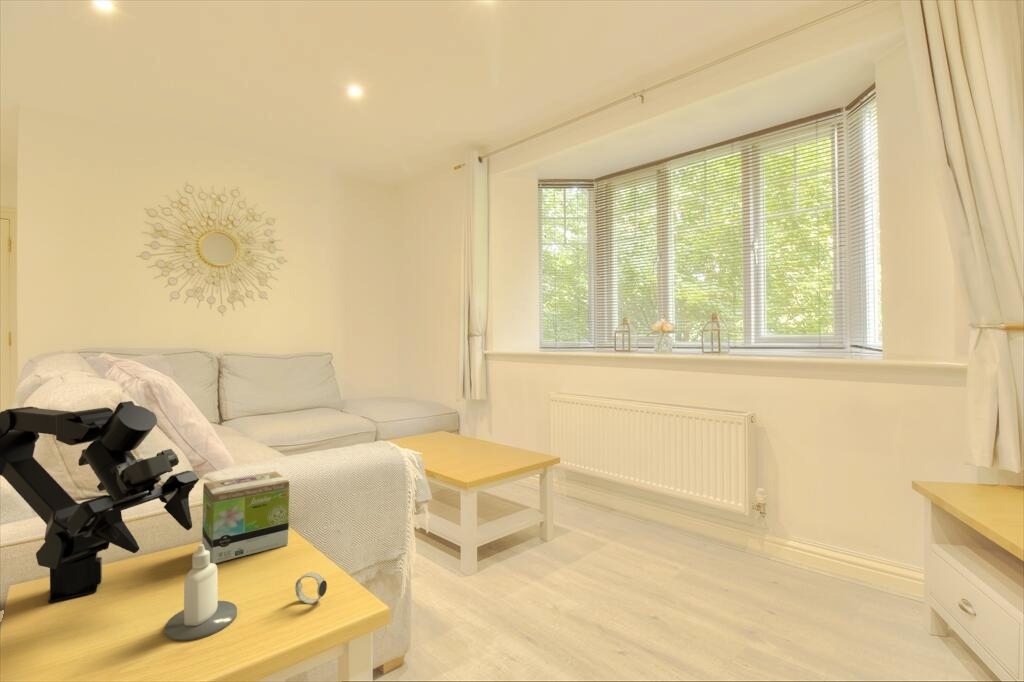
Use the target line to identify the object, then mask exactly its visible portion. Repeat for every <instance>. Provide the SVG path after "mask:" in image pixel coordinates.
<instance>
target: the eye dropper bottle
mask: <svg viewBox="0 0 1024 682" xmlns="http://www.w3.org/2000/svg"><path fill="white" fill-rule="evenodd" d="M191 557H192V559H191V560H192V568H191V569H190V570H189V571H188V573H187V575H186V576H185V579H184V584H183V610H184V624H185V625H186V626H197V625H200V624H202V623H203V622H205V621H207V620H208V619H209V618H211V617H212V616H213V615H214V613H215V612H216V610H217V607H218V601H219V593H218V592H219V589H218V586H219V585H218V584H219V583H218V580H219V579H218V566H217V563H216V564H214V563H211V562H210V551H208V550H205V548H204V544H202V543H201V544H198V547H197V551H195V552H194V553H192V556H191Z"/></svg>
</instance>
